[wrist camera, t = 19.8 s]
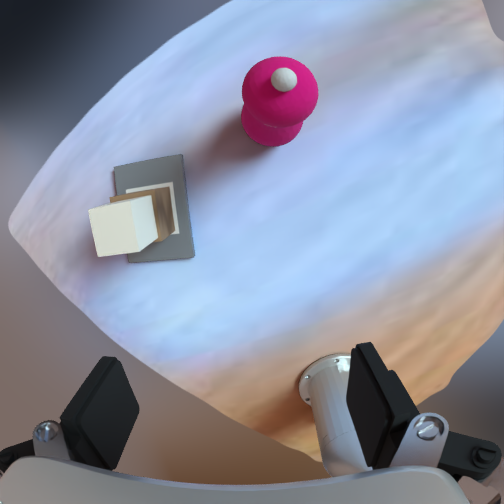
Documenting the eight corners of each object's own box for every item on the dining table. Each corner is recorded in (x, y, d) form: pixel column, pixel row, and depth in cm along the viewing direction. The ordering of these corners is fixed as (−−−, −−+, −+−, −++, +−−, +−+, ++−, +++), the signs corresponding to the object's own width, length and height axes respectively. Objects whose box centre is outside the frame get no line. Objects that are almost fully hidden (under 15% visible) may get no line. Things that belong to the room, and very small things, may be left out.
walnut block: (175, 230, 39) (162, 241, 33) (135, 235, 39) (117, 246, 33) (169, 186, 37) (154, 189, 31) (129, 192, 37) (109, 197, 32)
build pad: (195, 255, 41) (193, 257, 40) (131, 260, 41) (128, 263, 40) (182, 154, 37) (180, 154, 36) (116, 167, 37) (113, 167, 36)
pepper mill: (233, 110, 35) (211, 55, 16) (282, 89, 34) (307, 19, 15) (257, 157, 37) (259, 144, 18) (307, 135, 36) (356, 104, 17)
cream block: (158, 237, 33) (139, 251, 27) (121, 242, 33) (98, 257, 27) (151, 195, 31) (129, 200, 26) (113, 202, 32) (88, 209, 26)
